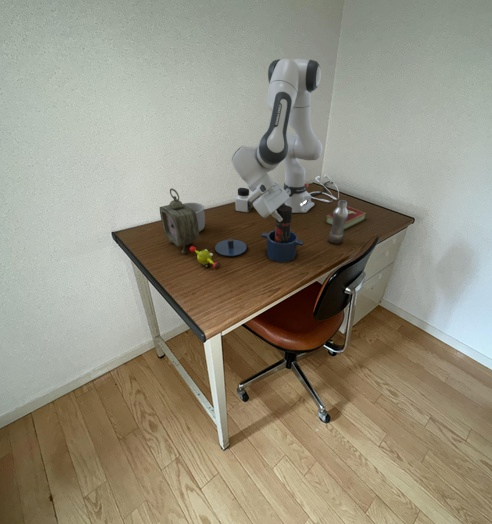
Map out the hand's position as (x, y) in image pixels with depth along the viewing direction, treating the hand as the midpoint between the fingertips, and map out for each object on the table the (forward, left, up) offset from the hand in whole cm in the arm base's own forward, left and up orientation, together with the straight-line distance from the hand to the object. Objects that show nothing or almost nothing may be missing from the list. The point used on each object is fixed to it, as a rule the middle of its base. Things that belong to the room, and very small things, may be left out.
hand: (285, 217), depth 104 cm
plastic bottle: (-26, +11, -17) cm, 33 cm away
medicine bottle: (-22, -45, -17) cm, 53 cm away
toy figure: (+27, -17, -17) cm, 36 cm away
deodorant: (0, -1, -12) cm, 12 cm away
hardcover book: (-51, +4, -17) cm, 54 cm away
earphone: (-72, -23, -17) cm, 77 cm away
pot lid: (+12, -19, -17) cm, 28 cm away
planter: (+12, -45, -17) cm, 49 cm away
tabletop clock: (+24, -35, -17) cm, 46 cm away
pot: (0, -1, -17) cm, 17 cm away
